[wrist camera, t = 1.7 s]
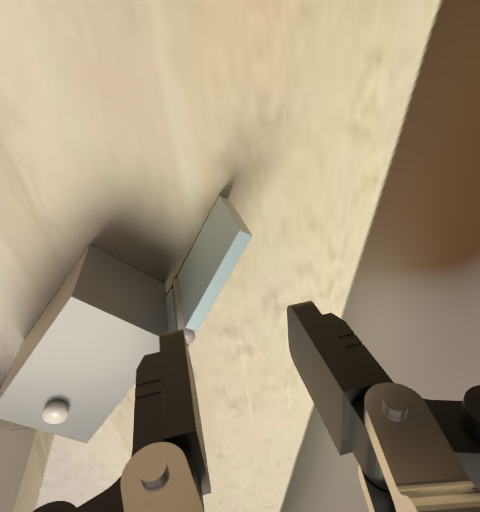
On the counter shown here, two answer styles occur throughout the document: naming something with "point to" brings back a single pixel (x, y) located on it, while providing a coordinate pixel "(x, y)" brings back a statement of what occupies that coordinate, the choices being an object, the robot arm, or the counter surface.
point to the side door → (206, 268)
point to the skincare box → (22, 465)
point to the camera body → (85, 348)
